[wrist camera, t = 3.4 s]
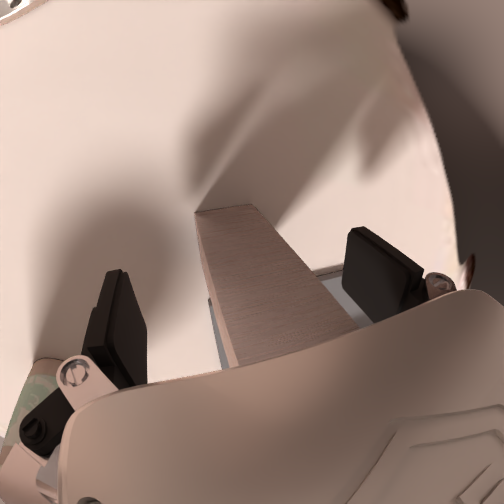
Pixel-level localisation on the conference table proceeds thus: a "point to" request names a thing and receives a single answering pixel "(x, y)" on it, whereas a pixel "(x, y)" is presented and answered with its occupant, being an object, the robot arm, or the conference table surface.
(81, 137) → the conference table surface
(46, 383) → the coffee cup
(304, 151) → the conference table surface
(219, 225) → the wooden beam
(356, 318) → the mat
